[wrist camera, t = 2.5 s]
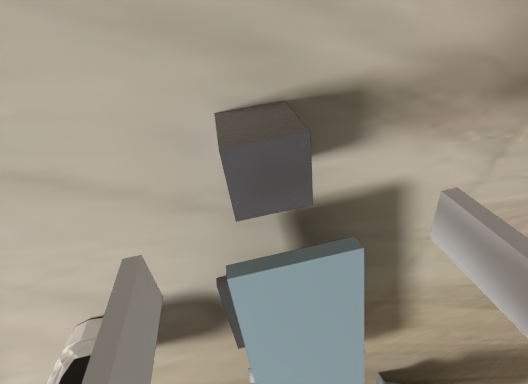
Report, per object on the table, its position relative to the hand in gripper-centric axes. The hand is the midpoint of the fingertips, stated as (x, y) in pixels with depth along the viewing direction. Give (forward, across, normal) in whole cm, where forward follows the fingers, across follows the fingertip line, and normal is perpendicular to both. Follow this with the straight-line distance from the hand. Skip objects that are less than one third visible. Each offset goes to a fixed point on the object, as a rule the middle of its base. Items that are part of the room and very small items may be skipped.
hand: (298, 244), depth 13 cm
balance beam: (+4, +1, -20) cm, 20 cm away
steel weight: (+11, 0, 0) cm, 11 cm away
